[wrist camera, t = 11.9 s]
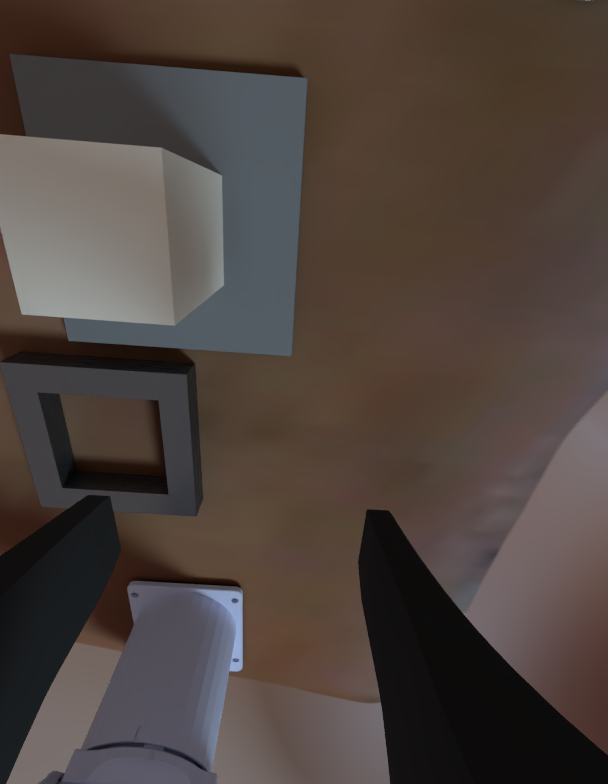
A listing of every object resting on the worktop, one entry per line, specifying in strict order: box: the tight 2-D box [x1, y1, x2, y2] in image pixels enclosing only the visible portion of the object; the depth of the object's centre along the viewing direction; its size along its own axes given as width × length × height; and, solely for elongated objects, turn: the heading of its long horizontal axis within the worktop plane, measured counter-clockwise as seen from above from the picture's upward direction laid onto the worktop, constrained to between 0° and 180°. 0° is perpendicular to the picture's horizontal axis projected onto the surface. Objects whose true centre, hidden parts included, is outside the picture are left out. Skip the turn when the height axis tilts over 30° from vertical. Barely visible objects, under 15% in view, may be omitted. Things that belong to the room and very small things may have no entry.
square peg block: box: [0, 134, 224, 326], centre depth 13 cm, size 4×4×7 cm
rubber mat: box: [9, 54, 307, 356], centre depth 17 cm, size 11×11×1 cm
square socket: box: [0, 352, 203, 516], centre depth 21 cm, size 9×9×2 cm
